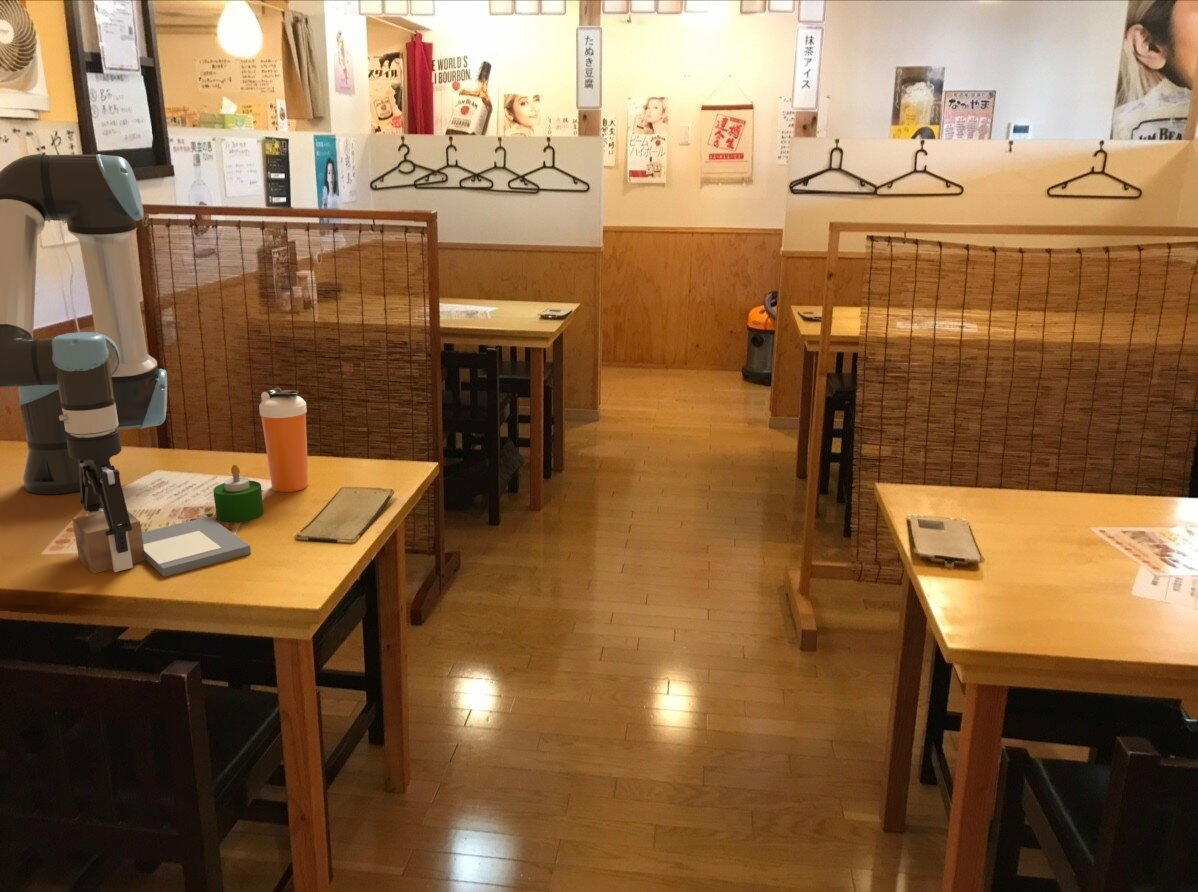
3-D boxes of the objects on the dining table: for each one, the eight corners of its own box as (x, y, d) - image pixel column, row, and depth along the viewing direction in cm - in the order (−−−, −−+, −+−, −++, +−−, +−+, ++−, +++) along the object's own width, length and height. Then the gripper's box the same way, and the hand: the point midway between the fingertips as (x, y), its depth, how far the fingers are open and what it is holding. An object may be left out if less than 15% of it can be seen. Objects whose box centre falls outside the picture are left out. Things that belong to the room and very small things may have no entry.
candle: (273, 513, 175) (268, 462, 173) (235, 526, 169) (229, 474, 166) (245, 504, 180) (239, 455, 177) (207, 517, 173) (201, 466, 170)
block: (79, 559, 155) (72, 519, 153) (130, 546, 160) (124, 508, 158) (93, 574, 149) (86, 533, 147) (145, 560, 154) (139, 521, 152)
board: (128, 543, 161) (126, 535, 160) (210, 524, 170) (209, 515, 169) (164, 577, 148) (163, 567, 148) (250, 553, 157) (249, 544, 157)
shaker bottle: (299, 495, 185) (290, 397, 179) (258, 492, 186) (248, 394, 181) (321, 481, 193) (313, 387, 187) (281, 478, 195) (272, 384, 189)
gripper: (46, 420, 154) (67, 543, 160) (88, 452, 137) (109, 587, 144) (96, 413, 159) (114, 532, 165) (142, 442, 142) (160, 574, 149)
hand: (111, 558), depth 154 cm, fingers open, 11 cm apart
